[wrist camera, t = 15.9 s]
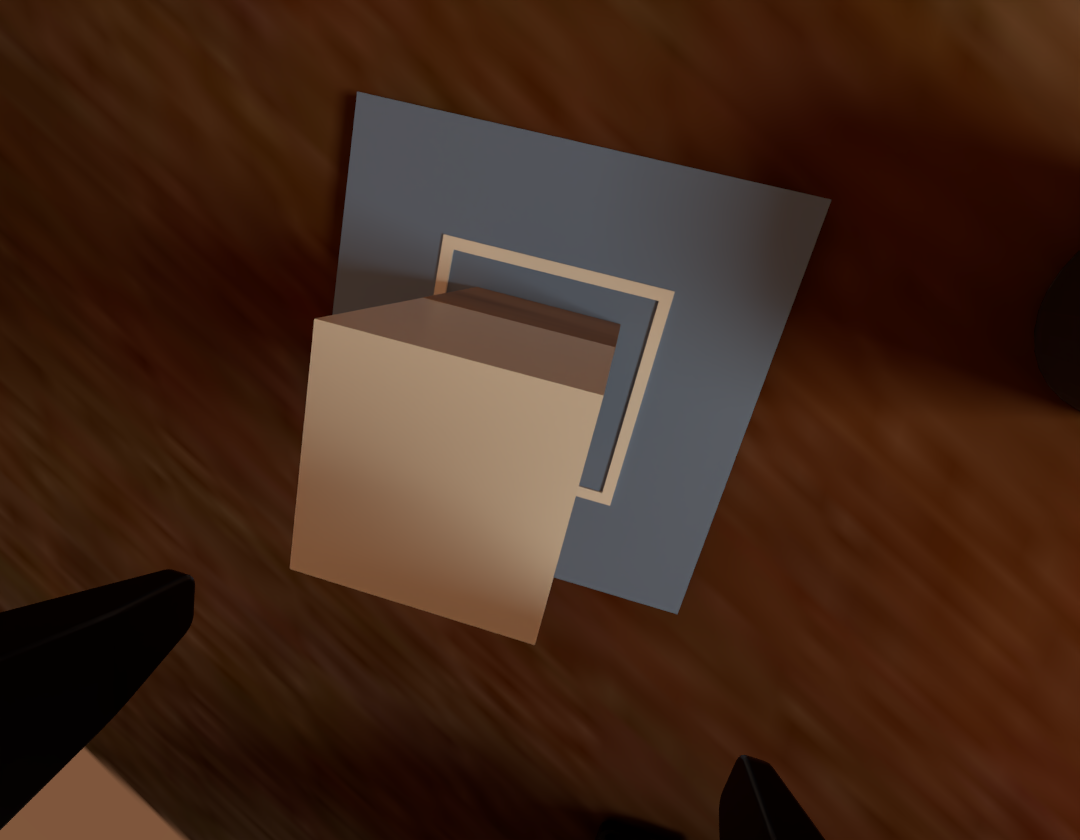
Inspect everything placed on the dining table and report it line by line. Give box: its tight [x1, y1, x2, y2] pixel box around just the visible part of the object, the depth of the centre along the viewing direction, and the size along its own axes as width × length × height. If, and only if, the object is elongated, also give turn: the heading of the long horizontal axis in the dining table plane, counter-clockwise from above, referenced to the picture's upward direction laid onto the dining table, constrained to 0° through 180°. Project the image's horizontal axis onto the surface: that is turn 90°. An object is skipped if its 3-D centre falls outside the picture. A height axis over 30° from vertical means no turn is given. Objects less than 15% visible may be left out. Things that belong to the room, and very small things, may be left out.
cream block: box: [290, 298, 615, 645], centre depth 12 cm, size 5×5×5 cm
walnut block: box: [424, 287, 621, 359], centre depth 17 cm, size 5×5×5 cm
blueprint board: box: [332, 92, 831, 614], centre depth 20 cm, size 15×15×1 cm
